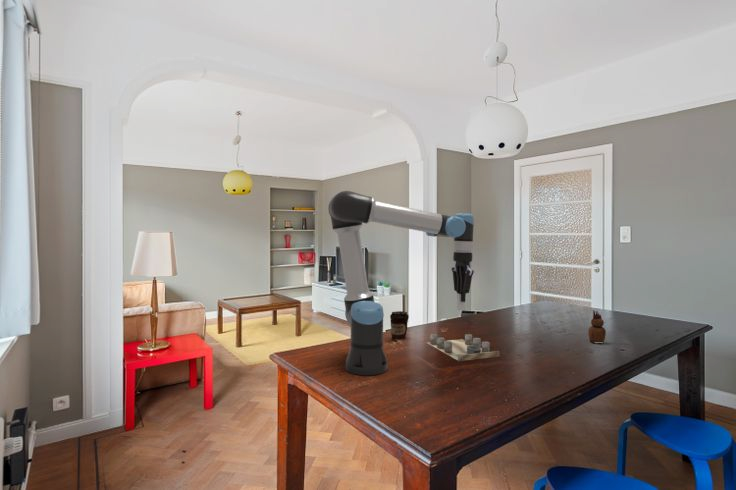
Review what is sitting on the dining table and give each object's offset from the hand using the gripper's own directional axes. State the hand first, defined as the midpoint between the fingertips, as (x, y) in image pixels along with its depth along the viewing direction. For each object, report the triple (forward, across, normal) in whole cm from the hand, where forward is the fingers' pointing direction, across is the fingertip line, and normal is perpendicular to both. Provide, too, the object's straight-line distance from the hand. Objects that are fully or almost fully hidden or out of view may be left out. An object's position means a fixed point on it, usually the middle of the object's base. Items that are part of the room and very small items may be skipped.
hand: (460, 309), depth 165 cm
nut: (+16, -8, -1) cm, 18 cm away
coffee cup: (+19, +24, +16) cm, 35 cm away
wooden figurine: (+17, -6, -68) cm, 70 cm away
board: (+18, 0, -1) cm, 18 cm away
